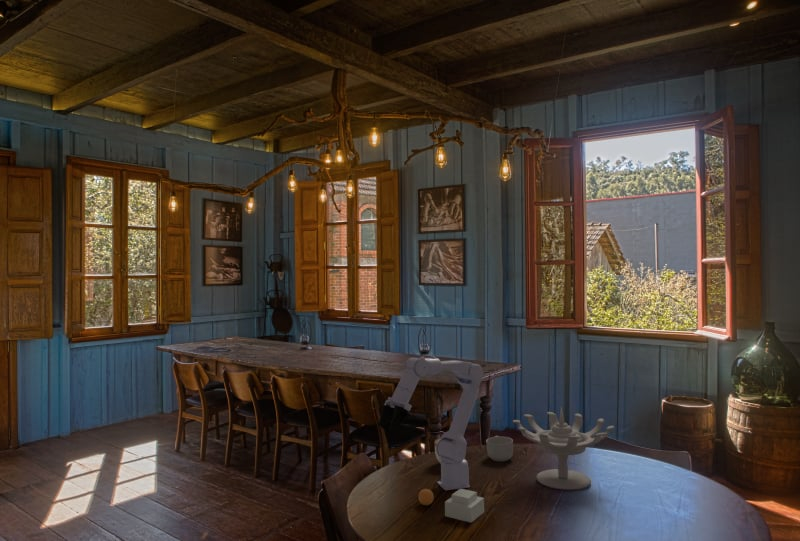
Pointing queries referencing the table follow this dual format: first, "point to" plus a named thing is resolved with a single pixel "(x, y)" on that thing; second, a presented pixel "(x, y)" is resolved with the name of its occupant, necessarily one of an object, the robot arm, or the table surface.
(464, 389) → the robot arm
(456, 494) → the white block
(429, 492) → the ball
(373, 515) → the table surface
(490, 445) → the teacup
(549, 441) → the candelabra
